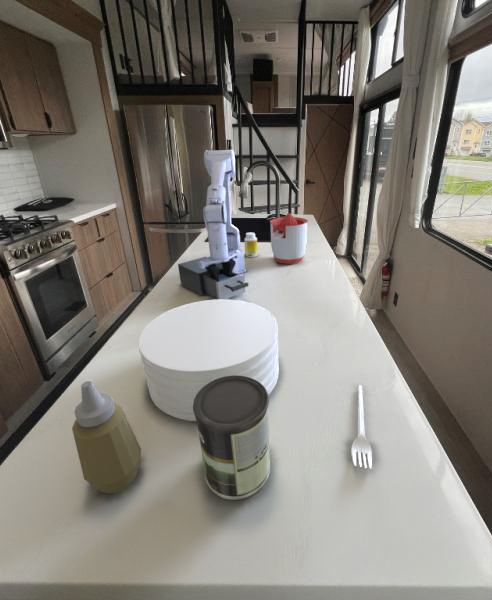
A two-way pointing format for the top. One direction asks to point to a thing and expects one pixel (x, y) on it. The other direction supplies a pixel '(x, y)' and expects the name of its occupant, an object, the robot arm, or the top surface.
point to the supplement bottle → (250, 245)
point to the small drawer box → (193, 275)
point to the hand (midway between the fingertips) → (222, 283)
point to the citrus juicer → (288, 239)
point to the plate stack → (206, 350)
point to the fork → (361, 437)
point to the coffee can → (234, 435)
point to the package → (223, 277)
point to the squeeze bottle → (105, 442)
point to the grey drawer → (224, 285)
